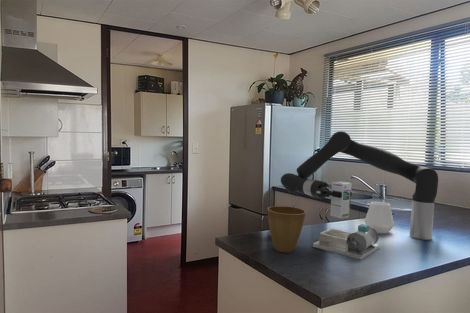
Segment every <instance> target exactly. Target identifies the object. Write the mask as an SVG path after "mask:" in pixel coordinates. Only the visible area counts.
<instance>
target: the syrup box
mask: <svg viewBox="0 0 470 313" xmlns="http://www.w3.org/2000/svg"><path fill="white" fill-rule="evenodd" d="M352 184H353V183H352V182H348V181H332V182H331V187H332V190H333V191H336V192H341V193H342V198H337V197H330V214H329V215H330V216H331V217H333V218H337V219H346V218H347V219H348V218H351V202H352V197H351V192H352V187H353V186H352Z"/></svg>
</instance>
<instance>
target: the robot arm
mask: <svg viewBox="0 0 470 313" xmlns="http://www.w3.org/2000/svg"><path fill="white" fill-rule="evenodd" d="M338 153H342V154H345V155H348V156H351V157H354V158H356V159H357V160H359V161H362V162H364V163H365V164H368V165H370V166H372V167H374V168H376V169H379V170H382V171H384V172H388V173H391V174H395V175H398V176H401V177H403V178H405V179H407V180H409V181H411V182H412V183H414V184H415V190H414V193H412V197H411V198H412V200H411V212H410V213H411V214H410V226H409V236H410V237H411V238H413V239H418V240H423V241H424V240H425V241H431V240H432V238H433V228H434V213H435V212H434V211H435V201H436V197H437V194H438V187H439V186H438V185H439V176H438V173H437V171H436V170H435V169H434V168H431V167H427V166H421V165H418V164H414V163H411V162H409V161H406V160H405V159H403V158H401V157H400V156H398V155H396V154H395V153H393V152H391V151H388V150H386V149H383V148H381V147H378V146H373V145H370V144H364V143H360V142H359V141H356V140H354V139H352V138H351V136H350V134H349V133H347V132H346V131H343V130H342V131H336V132H334V133H333V134H332V135H331V136H330V138H329V140H328V141H327V142H326V144H325V145H324V146H322V148H321V149H319V150H318V151H317V152H315V153H314V154H312V155H311V156H310V157H308V158H307V159H306V160H305V161H304V162H303V163H301V165H299V166H298V167H297V168H296V174H294V173H291V172H289V173H284V174H282V176H281V177H280V183H281V185H282V186H283V187H284V189H285V190H286V191H287V192H288V193H289V194H296V193H299V194H303V195H308V196H309V197H312V198H318V199H325V198H331V197H337V198H342V193H341V192H336V191H333V190H332V185H331V186H329V184H328V183H327V182H326V181H322V180H318V179H317V180H316V179H310V177H311V176H312V175H313V174H315V173H316V172H317V171H318V170H319V169H320V168H321V167H322V166H323V165H324V164H325V163H327V162H328V160H330V159H331V158H332V157H334V156H335V155H337V154H338ZM352 196H353V192H352V191H351V198H352Z"/></svg>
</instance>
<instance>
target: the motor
mask: <svg viewBox="0 0 470 313" xmlns="http://www.w3.org/2000/svg"><path fill="white" fill-rule="evenodd" d="M378 240H379V233H377V231H376V230H375V229H373V228H371V227H369V225H366V224H364V223H361V224H359V225H358V226H357V231H356V232H351V231H347V230H346V231H345V230H342V229H337V228H329V229H326V230H324V231H321V232H319V240H318V241H315V242H312V247H313V248H314V249H315V248H316V249H319V250H323V251H328V252H331V253H335V254H338V255H343V256H346V257H348V258H349V257H350V258H352V259H353V258H354V259H356V260H363V259H365V258H366V257H368V256H369V255H371V254H373V253H374V252H376V251H378V250H379V249H380V246H381V245H380V244H379V243H377V242H378Z"/></svg>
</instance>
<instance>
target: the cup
mask: <svg viewBox="0 0 470 313" xmlns="http://www.w3.org/2000/svg"><path fill="white" fill-rule="evenodd" d="M364 223H365V225H369V227H371V228H373V229H375V230H376V231H377V233H378V234H382V233H386V234H389V233H390V232H391V230H392V229H393V227H394V226H395V223H394V218H393V213H392V208H391V204H390V203H388V202H384V201H371V202H370V204H369V207H368V209H367V213H366V216H365V219H364Z"/></svg>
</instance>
